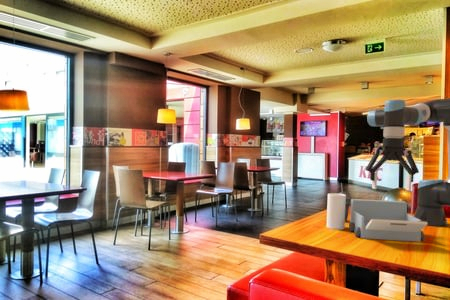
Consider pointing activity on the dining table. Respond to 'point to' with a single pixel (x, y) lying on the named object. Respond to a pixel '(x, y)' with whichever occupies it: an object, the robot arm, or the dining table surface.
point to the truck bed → (381, 210)
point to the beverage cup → (346, 202)
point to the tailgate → (395, 225)
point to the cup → (336, 211)
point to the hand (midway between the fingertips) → (391, 189)
